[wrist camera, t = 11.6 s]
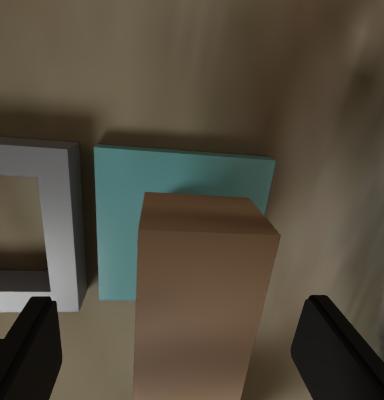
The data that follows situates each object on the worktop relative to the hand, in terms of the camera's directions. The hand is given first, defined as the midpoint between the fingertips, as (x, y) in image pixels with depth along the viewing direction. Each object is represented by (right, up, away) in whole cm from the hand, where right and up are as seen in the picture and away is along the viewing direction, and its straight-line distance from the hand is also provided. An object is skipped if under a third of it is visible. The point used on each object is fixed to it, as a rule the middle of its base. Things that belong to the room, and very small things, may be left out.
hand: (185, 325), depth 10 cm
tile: (-1, +3, +7) cm, 8 cm away
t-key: (-1, +3, +6) cm, 7 cm away
